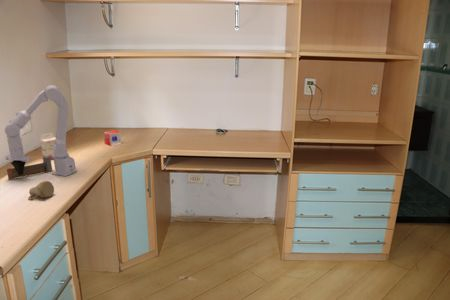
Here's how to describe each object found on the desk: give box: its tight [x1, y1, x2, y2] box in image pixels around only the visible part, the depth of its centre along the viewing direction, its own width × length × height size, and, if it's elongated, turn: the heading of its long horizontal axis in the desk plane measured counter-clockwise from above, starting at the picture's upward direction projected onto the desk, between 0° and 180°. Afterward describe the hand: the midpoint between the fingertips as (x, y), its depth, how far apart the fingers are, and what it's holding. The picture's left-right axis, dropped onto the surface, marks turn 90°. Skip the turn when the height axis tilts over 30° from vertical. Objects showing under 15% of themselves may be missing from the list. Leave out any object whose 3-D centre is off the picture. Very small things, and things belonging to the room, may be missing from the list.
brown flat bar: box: [6, 161, 48, 181], centre depth 181 cm, size 1×17×5 cm, turn 128°
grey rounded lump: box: [27, 180, 55, 201], centre depth 156 cm, size 8×10×10 cm
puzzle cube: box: [103, 129, 123, 147], centre depth 237 cm, size 8×8×8 cm
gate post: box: [41, 156, 53, 173], centre depth 187 cm, size 3×3×8 cm
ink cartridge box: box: [39, 132, 56, 161], centre depth 206 cm, size 9×5×15 cm, turn 141°
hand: (21, 174), depth 177 cm, fingers closed
